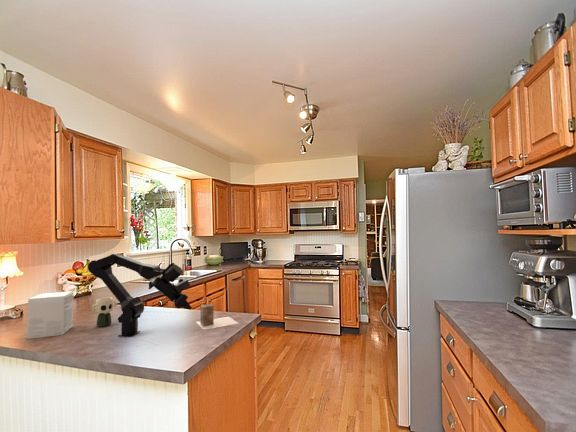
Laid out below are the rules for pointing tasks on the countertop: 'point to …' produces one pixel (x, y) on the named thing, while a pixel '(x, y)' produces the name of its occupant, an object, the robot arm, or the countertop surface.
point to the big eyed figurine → (104, 310)
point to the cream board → (219, 323)
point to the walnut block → (207, 315)
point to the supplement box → (49, 314)
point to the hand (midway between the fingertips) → (190, 308)
